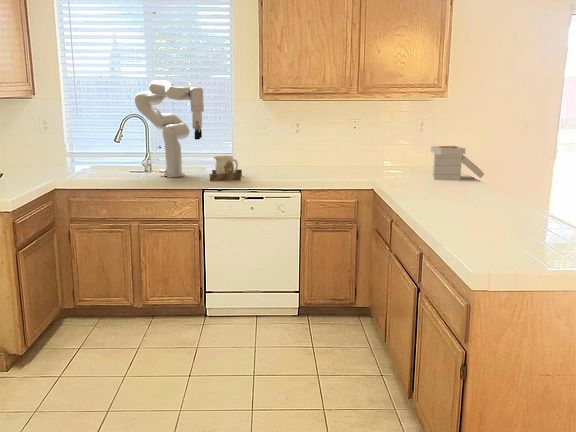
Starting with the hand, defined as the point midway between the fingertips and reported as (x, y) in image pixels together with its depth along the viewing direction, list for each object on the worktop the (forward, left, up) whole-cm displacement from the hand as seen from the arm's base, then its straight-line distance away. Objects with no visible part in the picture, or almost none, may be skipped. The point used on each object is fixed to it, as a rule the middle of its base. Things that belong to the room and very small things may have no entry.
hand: (198, 138), depth 351 cm
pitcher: (+16, 0, -24) cm, 29 cm away
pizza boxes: (+152, -11, -24) cm, 154 cm away
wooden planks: (+16, 0, -24) cm, 29 cm away
